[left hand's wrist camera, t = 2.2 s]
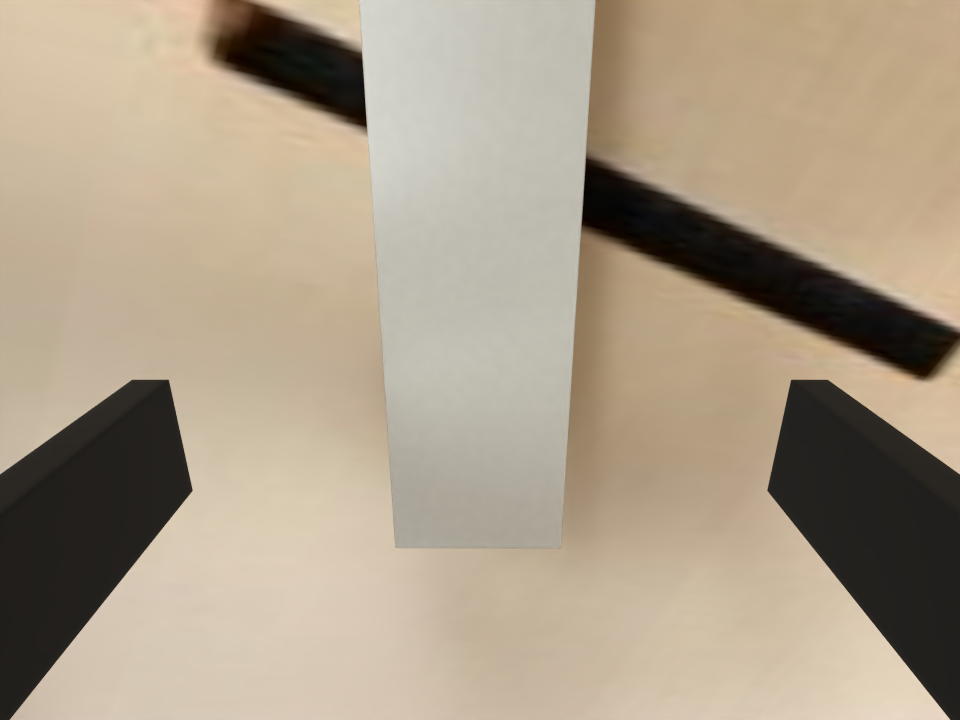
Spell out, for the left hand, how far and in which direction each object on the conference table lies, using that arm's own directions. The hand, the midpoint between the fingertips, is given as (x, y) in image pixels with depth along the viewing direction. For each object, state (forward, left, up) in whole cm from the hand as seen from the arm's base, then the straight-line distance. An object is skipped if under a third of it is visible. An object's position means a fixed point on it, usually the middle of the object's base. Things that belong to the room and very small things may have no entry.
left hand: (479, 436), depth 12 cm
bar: (+11, +20, -12) cm, 26 cm away
